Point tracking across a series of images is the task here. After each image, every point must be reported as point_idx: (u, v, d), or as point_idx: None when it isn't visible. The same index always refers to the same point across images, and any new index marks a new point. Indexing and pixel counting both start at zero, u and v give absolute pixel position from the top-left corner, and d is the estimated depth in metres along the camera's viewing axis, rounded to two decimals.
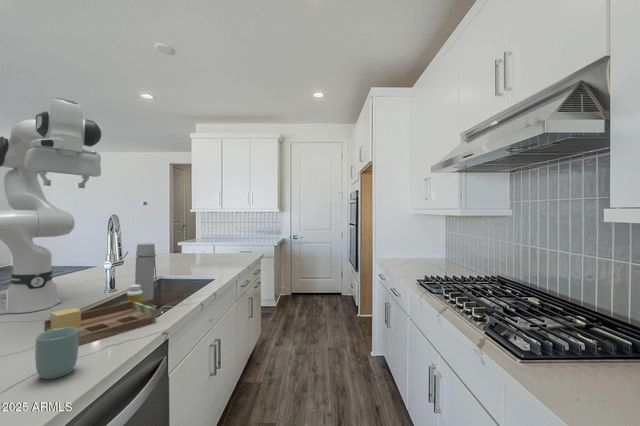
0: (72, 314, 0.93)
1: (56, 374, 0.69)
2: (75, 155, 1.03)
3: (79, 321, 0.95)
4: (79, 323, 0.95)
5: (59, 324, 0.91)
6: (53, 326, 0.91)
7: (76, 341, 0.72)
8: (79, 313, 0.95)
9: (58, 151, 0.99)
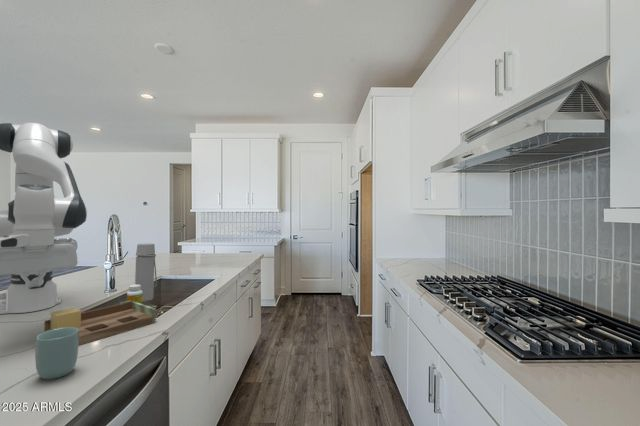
0: (72, 314, 0.93)
1: (56, 374, 0.69)
2: (45, 249, 0.87)
3: (79, 321, 0.95)
4: (79, 323, 0.95)
5: (59, 324, 0.91)
6: (53, 326, 0.91)
7: (76, 341, 0.72)
8: (79, 313, 0.95)
9: (23, 248, 0.84)
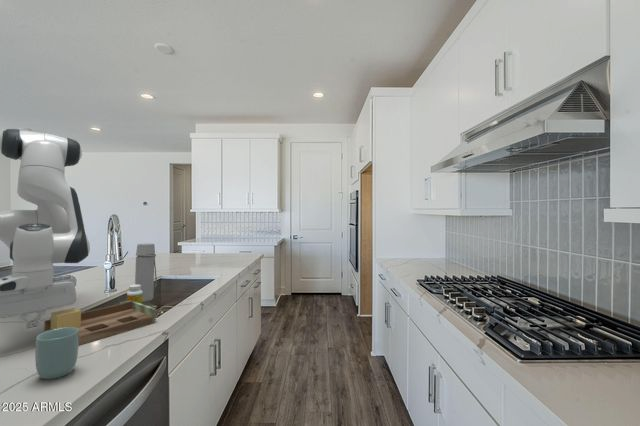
0: (72, 314, 0.93)
1: (56, 374, 0.69)
2: (44, 289, 0.87)
3: (79, 321, 0.95)
4: (79, 323, 0.95)
5: (59, 324, 0.91)
6: (53, 326, 0.91)
7: (76, 341, 0.72)
8: (79, 313, 0.95)
9: (22, 290, 0.84)
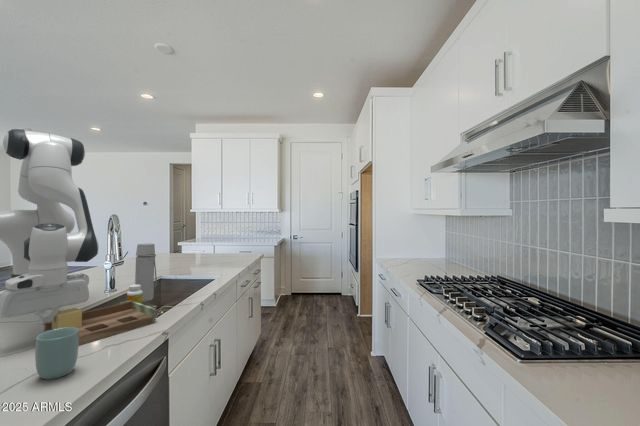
0: (73, 313, 0.93)
1: (56, 374, 0.69)
2: (58, 287, 0.90)
3: (80, 321, 0.95)
4: (80, 323, 0.95)
5: (60, 324, 0.91)
6: (54, 326, 0.92)
7: (76, 341, 0.72)
8: (80, 312, 0.95)
9: (38, 288, 0.87)
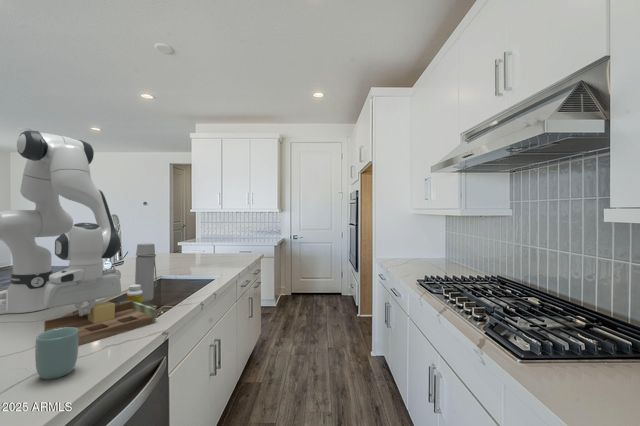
0: (107, 306, 1.01)
1: (56, 374, 0.69)
2: (95, 281, 0.98)
3: (113, 313, 1.03)
4: (113, 315, 1.03)
5: (96, 315, 0.99)
6: (90, 317, 0.99)
7: (76, 341, 0.72)
8: (113, 305, 1.03)
9: (78, 281, 0.95)
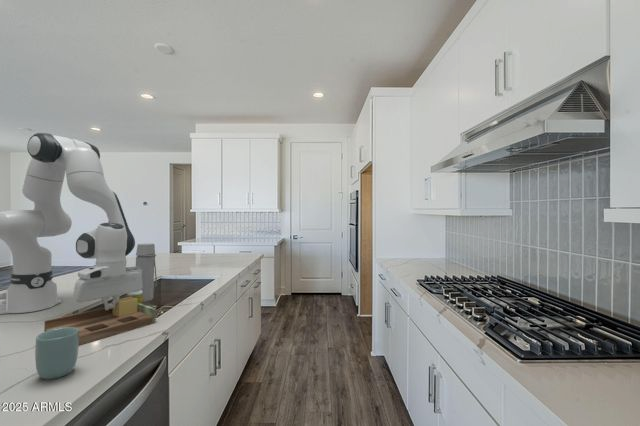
0: (131, 301, 1.08)
1: (56, 374, 0.69)
2: (120, 277, 1.05)
3: (136, 308, 1.09)
4: (136, 309, 1.09)
5: (121, 310, 1.05)
6: (115, 311, 1.06)
7: (76, 341, 0.72)
8: (136, 300, 1.09)
9: (105, 278, 1.01)
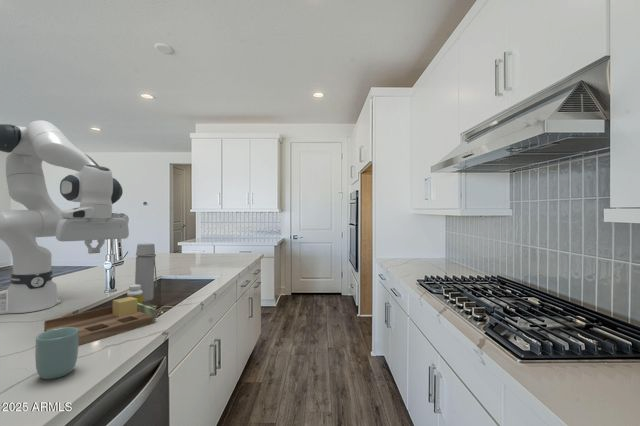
0: (131, 301, 1.08)
1: (56, 374, 0.69)
2: (105, 221, 1.02)
3: (136, 308, 1.09)
4: (136, 309, 1.09)
5: (121, 310, 1.05)
6: (115, 311, 1.06)
7: (76, 341, 0.72)
8: (136, 300, 1.09)
9: (89, 219, 0.99)
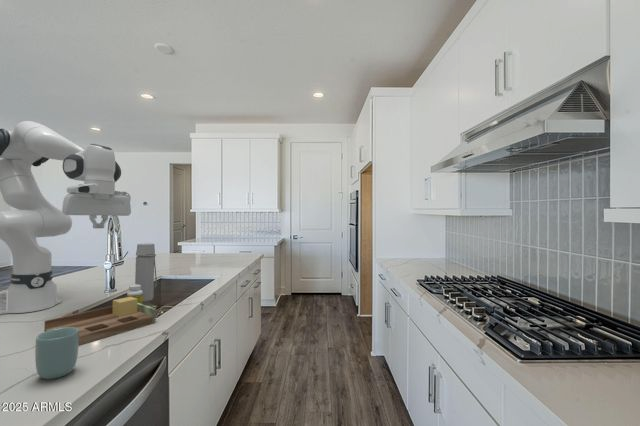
0: (131, 301, 1.08)
1: (56, 374, 0.69)
2: (108, 198, 1.07)
3: (136, 308, 1.09)
4: (136, 309, 1.09)
5: (121, 310, 1.05)
6: (115, 311, 1.06)
7: (76, 341, 0.72)
8: (136, 300, 1.09)
9: (93, 195, 1.04)
